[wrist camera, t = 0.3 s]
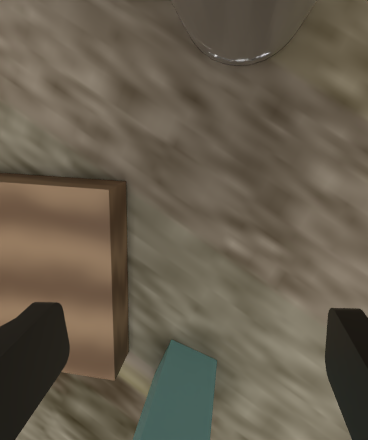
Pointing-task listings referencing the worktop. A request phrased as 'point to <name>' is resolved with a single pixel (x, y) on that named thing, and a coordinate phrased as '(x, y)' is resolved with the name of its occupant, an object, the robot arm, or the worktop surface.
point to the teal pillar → (179, 397)
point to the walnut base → (69, 262)
